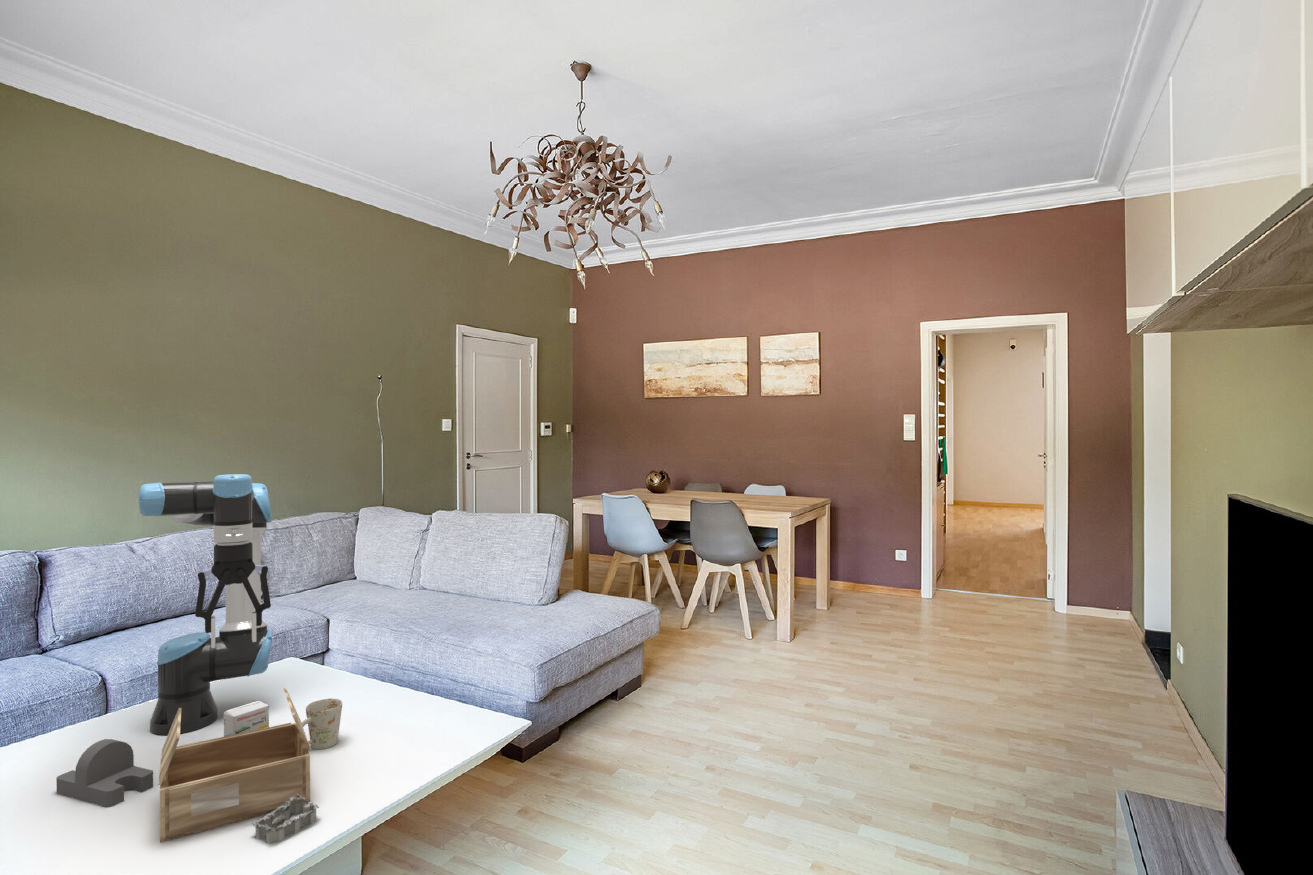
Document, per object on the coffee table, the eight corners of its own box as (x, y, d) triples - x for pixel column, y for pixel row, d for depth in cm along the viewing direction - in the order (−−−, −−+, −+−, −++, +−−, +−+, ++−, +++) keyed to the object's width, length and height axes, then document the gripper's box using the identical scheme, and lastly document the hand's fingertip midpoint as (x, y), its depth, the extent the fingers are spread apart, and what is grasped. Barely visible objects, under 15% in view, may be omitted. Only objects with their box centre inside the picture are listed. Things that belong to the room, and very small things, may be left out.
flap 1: (164, 749, 148) (162, 749, 148) (181, 707, 150) (178, 707, 149) (161, 784, 133) (158, 784, 133) (179, 738, 135) (176, 738, 134)
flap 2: (283, 689, 161) (285, 688, 161) (298, 721, 162) (300, 720, 163) (292, 715, 146) (294, 714, 146) (308, 750, 147) (310, 749, 148)
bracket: (109, 809, 144) (108, 758, 144) (53, 793, 150) (53, 744, 150) (155, 787, 153) (155, 738, 153) (102, 773, 159) (101, 727, 159)
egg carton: (300, 810, 144) (300, 790, 144) (323, 820, 140) (322, 800, 140) (249, 836, 135) (249, 815, 135) (271, 848, 131) (271, 826, 131)
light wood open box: (164, 794, 150) (164, 749, 149) (298, 762, 164) (298, 720, 164) (159, 844, 131) (159, 792, 131) (310, 803, 146) (310, 756, 146)
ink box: (233, 765, 163) (233, 715, 163) (223, 759, 166) (222, 711, 165) (270, 751, 170) (269, 703, 170) (259, 746, 173) (259, 699, 173)
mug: (349, 739, 176) (349, 700, 176) (310, 761, 165) (310, 720, 164) (324, 734, 179) (324, 696, 179) (284, 756, 167) (283, 715, 167)
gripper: (178, 549, 147) (179, 655, 147) (285, 540, 158) (285, 640, 158) (179, 544, 153) (180, 646, 153) (282, 536, 164) (282, 632, 165)
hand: (234, 643), depth 156 cm, fingers open, 7 cm apart
